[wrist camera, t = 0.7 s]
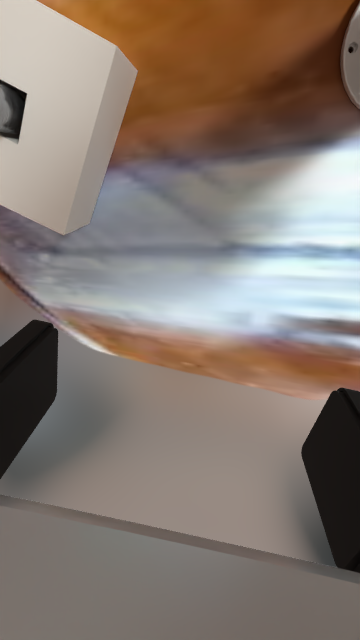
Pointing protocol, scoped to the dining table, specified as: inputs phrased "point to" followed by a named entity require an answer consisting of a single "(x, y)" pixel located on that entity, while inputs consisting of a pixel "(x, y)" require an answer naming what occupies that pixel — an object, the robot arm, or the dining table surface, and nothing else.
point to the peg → (11, 110)
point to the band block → (59, 114)
